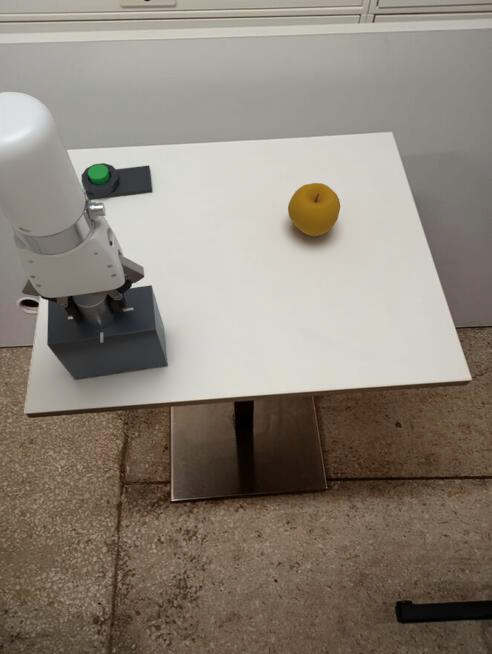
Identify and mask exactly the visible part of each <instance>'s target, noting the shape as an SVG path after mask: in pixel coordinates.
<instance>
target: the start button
mask: <svg viewBox="0 0 492 654" xmlns="http://www.w3.org/2000/svg"><path fill="white" fill-rule="evenodd" d="M96 164H97V165H94V164H93V165H94V166H92V165H91V166H92V167H91V168H90V169H89V170H88V175H89V178H90V181H91V182H92V183H93V184H95V185H102V184H105V183H106V182H108V181H109V179H110V175H109V171H108V169H107V167H106V166H104V165H101V164H100V163H96Z"/></svg>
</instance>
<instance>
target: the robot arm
mask: <svg viewBox="0 0 492 654" xmlns="http://www.w3.org/2000/svg"><path fill="white" fill-rule="evenodd" d="M49 109H50V108H48V106H46V105H45V103H43V102H42V101H41V100H39V99H38V98H36V97H34V96H32V95H30V94H27V93H24V92H17V91H2V92H0V211H1V212H2V214H3V216H4V217H5V219H6V220H7V222H8V224H9V226H10V227H11V228H12V233H13V241H14V245H15V248H16V252H17V255H18V257H19V260H20V263H21V266H22V267H23V270H24V272H25V275H26V276H25V277H24V278H23V281H22V284H21V293H22V294H23V295H27V296H33V297H40V298H41V299H42V300H45V301H48V300H49V301H52V302H56V303H57V305H58V307H60V308H65V310H66V312H67V313H68V315H72V317H73V319H74V320H75V322H76V323H81V322H82V314H81V313H80V311H79V309H78V307H77V306H76V304H75V302H74V301H73V298H72V296H73V295H80V294H87V293H94V292H101V291H106V292H107V293H108V295H109V297H110V304H111V307H112V309H113V311H114V313H115V315H116V317H118V318H119V317H122V308H125V307H126V302H125V297H124V294H123V293H125V292H126V291H127V290H128V289H129V288H133V287H132V286H133V284H137V283H138V282H139V281H141V280H142V279H144V278H145V267H144V266H142V265H140V264H139V263H137V262H135V261H133V260H131V259H129V258H127V257H125V256H124V252H123V248H122V247H121V244H120V242H119V240H118V238H117V236H116V233H115V232H114V231H113V229H112V226H111V225H110V224H109V222H108V220H107V219H106V218H105V216H106V215H107V214H106V213H107V212H106V207H105V203H104V202H103V201H102V202H95V201H92V200H89V199H88V197H87V194H86V191H85V192H84V190H83V186H82V184H81V182H80V180H79V177H78V175H77V173H76V169H75V168H74V164H73V162H72V160H71V159H72V158H71V157H70V155H69V152H68V149H67V147H66V145H65V142H64V139H63V137H62V135H61V132H60V129H59V127H58V124H57V122H56V120H55V117H54V116H53V114H52V111H50V110H49Z"/></svg>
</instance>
